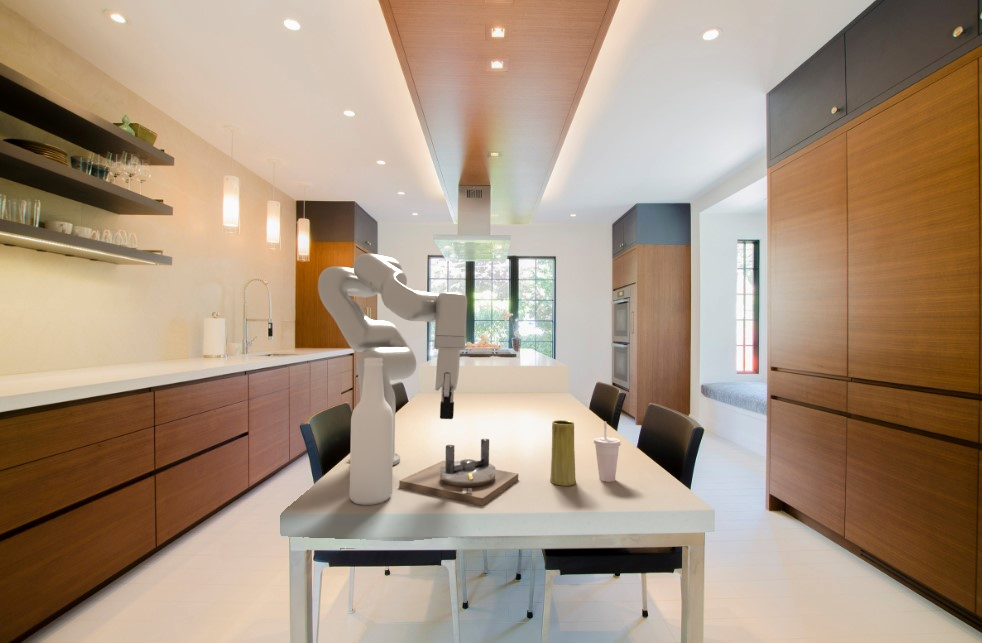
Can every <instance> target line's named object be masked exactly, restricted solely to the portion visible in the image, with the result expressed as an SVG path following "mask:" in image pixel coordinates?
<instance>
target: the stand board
mask: <svg viewBox="0 0 982 643" xmlns="http://www.w3.org/2000/svg"><path fill="white" fill-rule="evenodd" d="M445 464H446V460H442V461H440V462H437V463H435V464H433V465H431V466H429V467H426V468H424V469H422V470H420V471H417V472H415V473H413V474H410V475H409V476H406V477H404V478H402V479H400V480H399V482H398V483H399V484H398V488H402V489H406V490H410V491H415V492H418V493H424V494H429V495H433V496H437V497H442V498H446V499H451V500H454V501H455V500H456V501H460V502H464V503H469V504H473V505H477V506H484V505H486V504H487V503H488V502H490V501H492V499H494V498H495V497H496V496H498V495H500V494H502V492H504V491H505V490H507V489H508V488H509V487H510V486H512V485H513V484H515V483H516V482H517V481H519V473H516V472H512V471H506V470H499V469H495V480H494V481H493V482H491V483H489V484H486V485H482V486H475V487H459V486H452V485H448V484H446V483H444V482H442V481H441V480H440V468H441V467H442V466H443V465H445Z"/></svg>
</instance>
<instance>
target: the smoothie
mask: <svg viewBox="0 0 982 643" xmlns="http://www.w3.org/2000/svg"><path fill="white" fill-rule="evenodd" d="M593 444H594V445H595V454H596V460H597V461H596V462H597V470H598V479H599V481H601V480H602V482H605V481H606V483H612V482H611V481H613V482H615V481H616V477H617V476H616V474H617V466H618V459H619V458H618V457H619V451H620V450H619V449H620V446H621V445H622V444H621V440H620V439H619V438H615V437H612V436H611V437H610V436H607V421H603V436H597V437H594V439H593Z"/></svg>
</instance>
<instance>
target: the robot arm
mask: <svg viewBox="0 0 982 643" xmlns="http://www.w3.org/2000/svg"><path fill="white" fill-rule="evenodd" d="M407 282H408V279H407V276H406V274H405V273H404V272H403V268H402V266H401V264H400V262H399V261H398V260H397V259H395V258H393V257H390V256H385V255H380V254H375V253H362V254H360V255H358V256H357V257H355V259H354V261H353V264H352V268H351V267H347V266H330V267H327V268H325V269H323V270H322V272H321V273H320V275H319V277H318V282H317V290H318V296H319V298H320V301H321V303H322V304H323V306H324V308H325V309H326V310H327V312H328V313H329V314H330V315H331V317H332V318H333V320H334V322H335V323H336V325H337V326H338V329H339V330H340V332H341V334H342V336H343V337H344V340H346V343H347V344H348V346H349V347H350V348H351V350H353V351H355V352H358V353H360V354H359V355H358V357H357V359H356V360H357V361H356V370H357V371H356V372H357V377H358V383H359V401H360V400H361V397H362V388H363V378H364V368H365V366H364V364H365V361H364V359H365V358H382V359H383V361H382V364H383V366H382V371H383V388H384V397H385V401H386V402H387V403H388V404H389V406H390V407H391V409H392V412H393V466H395V465H397V464H399V463H400V461H401V455H400V454H398V453H396V452H395V451H396V448H395V447H396V445H395V444H396V439H395V438H396V394H395V391H394V388H393V386H392V384H391V382H390V381H397V380H404V379H409V378H410V377H411V376H413V374H414V373H415V371H416V369H417V359H416V356H415V353H414V351H413V350H412V348H411V347H410V345H409V344H408V342H407V340H406V339H405V337H404V336H403V334H402V332H401V331H400V330H399V328H398V327H397V325H395V324H394V323H392V322H390V321H388V320H377V319H372V318H370V317H368V315H367V314H366V312H365V311H364V309H363V307H362V306H361V305H360V303H358V302H357V301H356V300H354V299H353V298H351V297H355V298H356V297H357V298H371V297H374V296H376V295H378V294H380V296H381V297H380V298H381V301H382V303H383V305H384V306H385V307H386V308H387V309H388V310H389V311H391V312H392V313H394V314H395V315H396V316H398V317H399V318H401V319H403V320H406V321H410V322H425V323H426V322H427V323H434V324H435V325H434V343H433V346H434V347H433V349H435V350H438V351H437V356H436V357H437V358H436V360H437V361H436V370H435V371H436V372H435V373H436V374H435V385H434V386H435V388H434V390H435V391H437V392H439V390H440V389H441V399H440V400H441V401H440V405H439V406H440V408H439V418H440V419H441V420H453V418H454V412H455V411H454V410H455V402H454V396H455V395H454V394H455V391H457V385H458V382H459V381H458V380H459V372H460V360H461V359H460V357H461V351H465V350H466V334H467V312H468V310H467V309H468V299H467V296H466V295H465V294H463V293H460V292H440V293H437V292H436V293H434V292H429V291H421V290H413V289H412V288H409V287H407Z"/></svg>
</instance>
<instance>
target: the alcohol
mask: <svg viewBox="0 0 982 643" xmlns="http://www.w3.org/2000/svg"><path fill="white" fill-rule="evenodd" d="M364 361H365V364H364V366H365V368H364V378H363V388H362V397H361V400H360V399H359V402H358V403H357V405H356V406H355V407H354V408H353V411H352V414H351V418H350V451H349V452H350V453H349V456H350V457H349V458H350V459H349V460H350V461H349V499H350V500H351V501H352V502H353V504H355V503H356V505H358V504H359V505H360V506H374V505H373V504H375V505H378V503H379V504H382V503H384V501H385V502H386V501H388V500H389V499H390V497H391V496H392V494H393V468H394V467H393V466H394V465H393V412H392V409H391V407H390V406H389V404H388V403H387V402H386V401H385V397H384V388H383V371H382V366H383V364H382V361H383V359H382V358H365V359H364ZM381 502H382V503H381ZM359 505H358V506H359Z"/></svg>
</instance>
